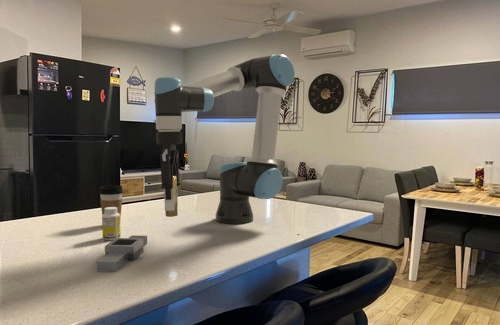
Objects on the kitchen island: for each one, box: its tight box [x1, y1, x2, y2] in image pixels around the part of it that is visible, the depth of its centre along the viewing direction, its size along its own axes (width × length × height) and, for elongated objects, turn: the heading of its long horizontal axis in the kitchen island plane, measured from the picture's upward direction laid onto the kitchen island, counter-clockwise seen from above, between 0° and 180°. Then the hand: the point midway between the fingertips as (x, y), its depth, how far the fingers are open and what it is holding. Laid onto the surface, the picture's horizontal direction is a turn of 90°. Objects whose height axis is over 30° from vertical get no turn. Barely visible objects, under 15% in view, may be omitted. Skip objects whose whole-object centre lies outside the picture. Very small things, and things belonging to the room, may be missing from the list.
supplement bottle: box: [101, 207, 121, 241], centre depth 126 cm, size 6×6×10 cm
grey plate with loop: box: [96, 235, 148, 273], centre depth 108 cm, size 24×8×4 cm, turn 177°
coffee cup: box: [98, 184, 124, 221], centre depth 143 cm, size 8×8×15 cm
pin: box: [164, 175, 179, 218], centre depth 115 cm, size 4×4×12 cm
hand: (171, 208), depth 115 cm, fingers closed on pin, 4 cm apart
